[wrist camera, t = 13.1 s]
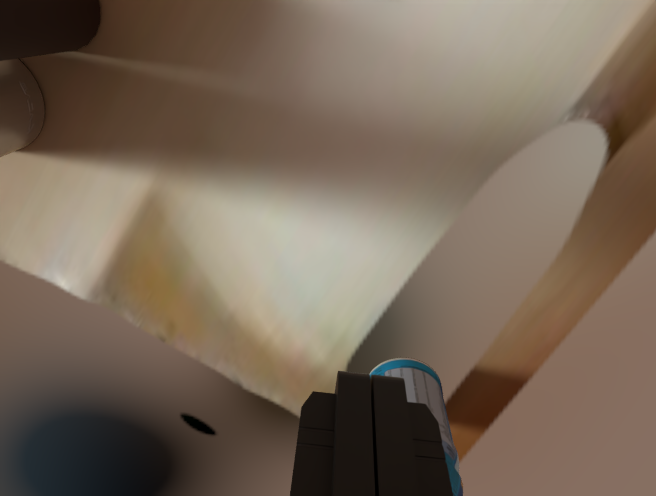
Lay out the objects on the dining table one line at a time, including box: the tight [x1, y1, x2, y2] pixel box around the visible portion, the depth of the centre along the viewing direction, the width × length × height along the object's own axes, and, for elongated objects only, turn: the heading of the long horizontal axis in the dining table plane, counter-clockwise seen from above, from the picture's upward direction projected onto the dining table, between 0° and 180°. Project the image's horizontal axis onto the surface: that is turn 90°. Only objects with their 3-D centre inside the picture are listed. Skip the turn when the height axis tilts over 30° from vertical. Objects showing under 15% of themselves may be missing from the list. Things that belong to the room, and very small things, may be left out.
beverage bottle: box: [369, 358, 463, 496], centre depth 46 cm, size 8×8×20 cm
